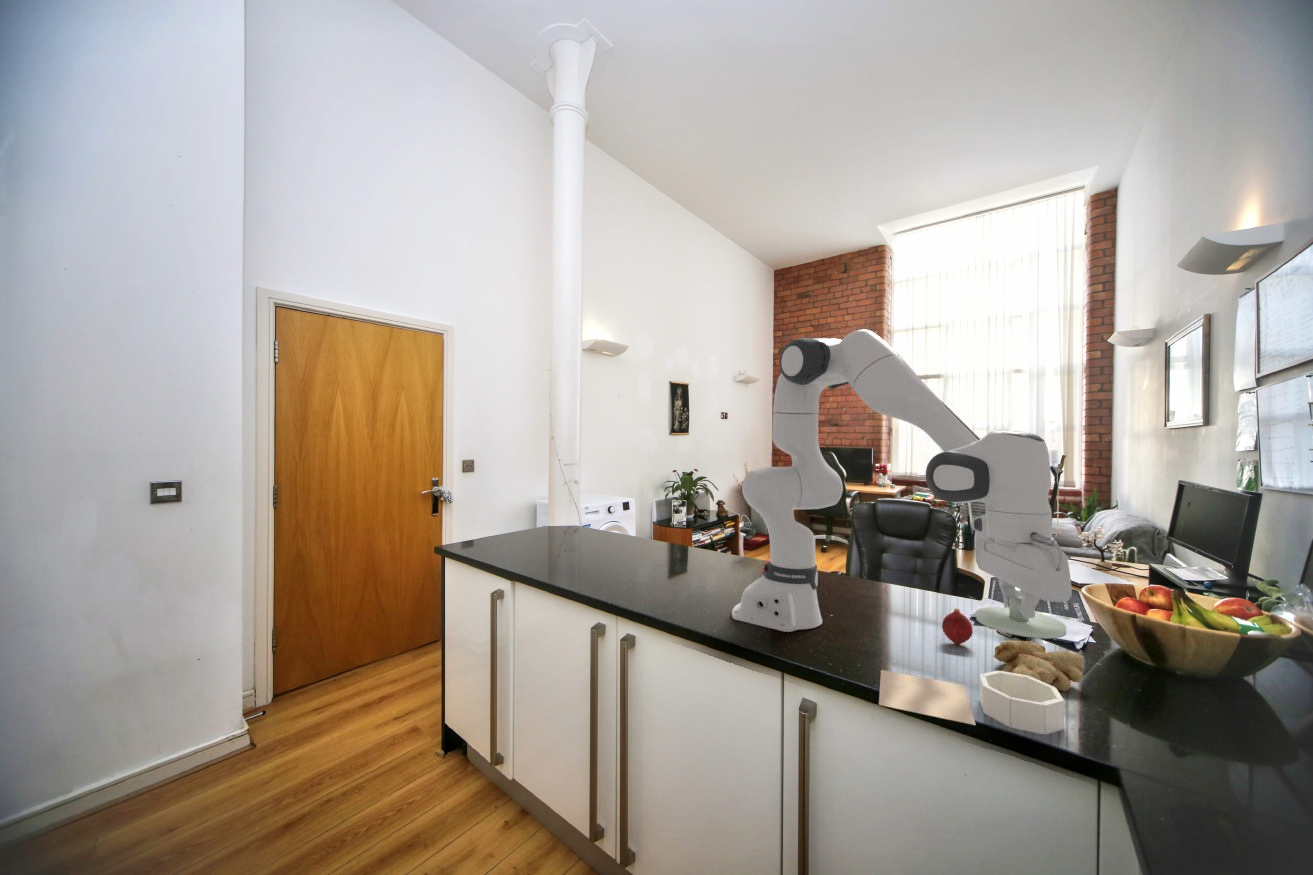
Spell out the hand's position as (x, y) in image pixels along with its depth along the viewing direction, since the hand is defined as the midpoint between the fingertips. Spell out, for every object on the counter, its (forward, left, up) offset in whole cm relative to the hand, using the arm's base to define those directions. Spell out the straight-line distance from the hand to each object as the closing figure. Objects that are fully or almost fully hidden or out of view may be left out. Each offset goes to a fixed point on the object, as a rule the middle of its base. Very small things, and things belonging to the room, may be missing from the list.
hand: (1018, 612), depth 81 cm
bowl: (0, 0, -17) cm, 17 cm away
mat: (-14, 0, -17) cm, 22 cm away
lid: (0, 0, -2) cm, 2 cm away
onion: (-6, +29, -18) cm, 35 cm away
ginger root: (+5, +17, -18) cm, 25 cm away
